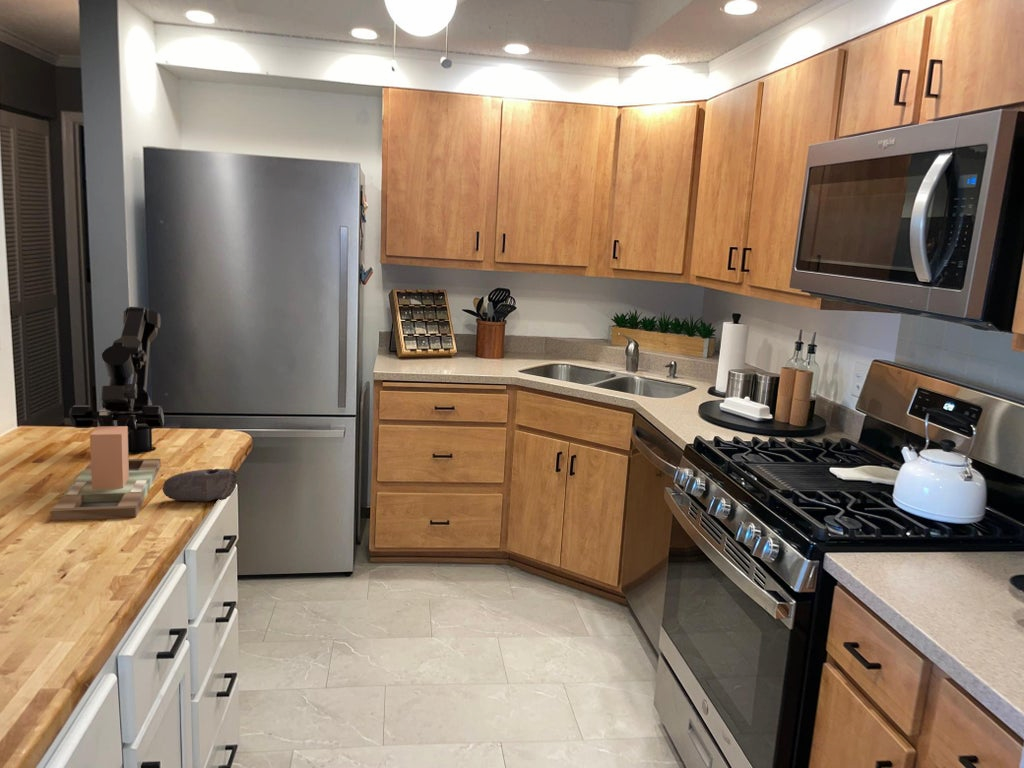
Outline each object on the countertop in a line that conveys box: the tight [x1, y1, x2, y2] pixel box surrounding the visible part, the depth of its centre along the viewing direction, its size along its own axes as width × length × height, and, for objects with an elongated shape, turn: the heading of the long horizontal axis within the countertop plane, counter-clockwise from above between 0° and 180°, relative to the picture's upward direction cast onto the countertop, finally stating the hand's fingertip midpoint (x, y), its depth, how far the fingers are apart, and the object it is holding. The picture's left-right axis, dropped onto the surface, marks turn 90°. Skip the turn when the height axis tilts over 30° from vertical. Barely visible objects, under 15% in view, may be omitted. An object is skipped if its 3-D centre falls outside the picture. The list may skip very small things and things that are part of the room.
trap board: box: [50, 458, 162, 522], centre depth 166 cm, size 35×15×2 cm, turn 17°
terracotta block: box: [89, 425, 130, 489], centre depth 164 cm, size 7×6×12 cm
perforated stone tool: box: [161, 468, 238, 503], centre depth 164 cm, size 15×5×7 cm, turn 104°
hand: (113, 448), depth 167 cm, fingers closed
